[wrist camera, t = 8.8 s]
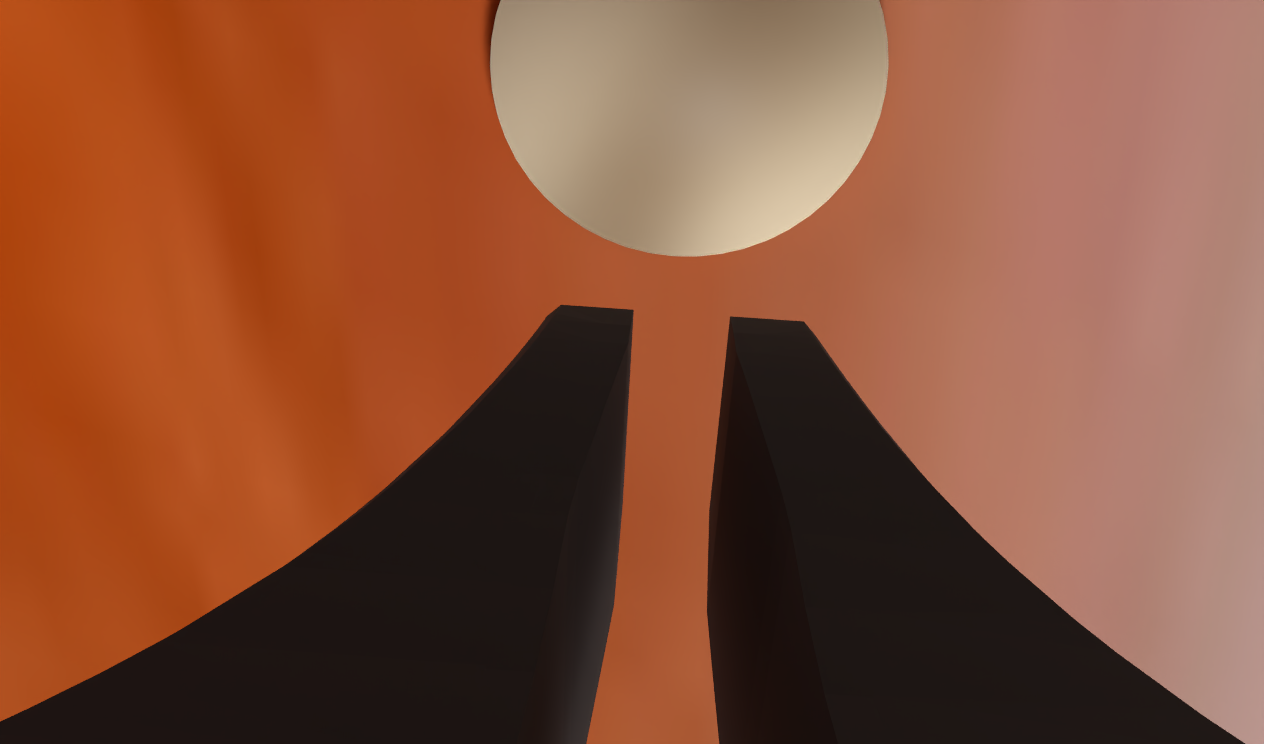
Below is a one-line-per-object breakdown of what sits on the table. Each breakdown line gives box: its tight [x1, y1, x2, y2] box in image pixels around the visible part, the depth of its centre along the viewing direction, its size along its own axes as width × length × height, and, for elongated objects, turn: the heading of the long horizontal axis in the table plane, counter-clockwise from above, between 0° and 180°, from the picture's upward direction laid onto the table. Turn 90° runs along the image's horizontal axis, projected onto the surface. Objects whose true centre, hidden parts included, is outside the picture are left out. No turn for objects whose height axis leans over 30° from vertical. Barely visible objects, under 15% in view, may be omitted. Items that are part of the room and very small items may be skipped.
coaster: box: [490, 0, 888, 256], centre depth 18 cm, size 6×6×1 cm
